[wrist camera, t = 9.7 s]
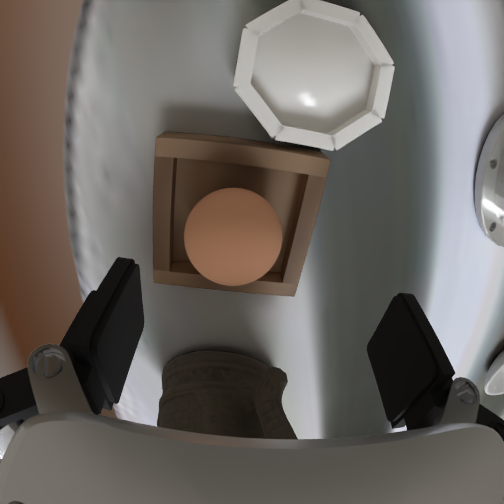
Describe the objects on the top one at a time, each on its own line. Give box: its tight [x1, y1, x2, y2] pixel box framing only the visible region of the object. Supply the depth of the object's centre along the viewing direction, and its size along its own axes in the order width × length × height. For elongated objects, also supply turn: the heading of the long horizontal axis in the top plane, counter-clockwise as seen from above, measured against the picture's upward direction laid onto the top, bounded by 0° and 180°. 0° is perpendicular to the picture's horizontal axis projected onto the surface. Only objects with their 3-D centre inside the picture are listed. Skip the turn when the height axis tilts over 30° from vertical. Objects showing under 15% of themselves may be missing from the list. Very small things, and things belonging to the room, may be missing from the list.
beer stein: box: [157, 350, 297, 440], centre depth 18 cm, size 15×11×20 cm
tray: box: [153, 132, 331, 297], centre depth 18 cm, size 9×9×2 cm
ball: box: [184, 188, 282, 286], centre depth 16 cm, size 5×5×5 cm
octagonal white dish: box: [233, 0, 395, 151], centre depth 13 cm, size 8×8×2 cm
